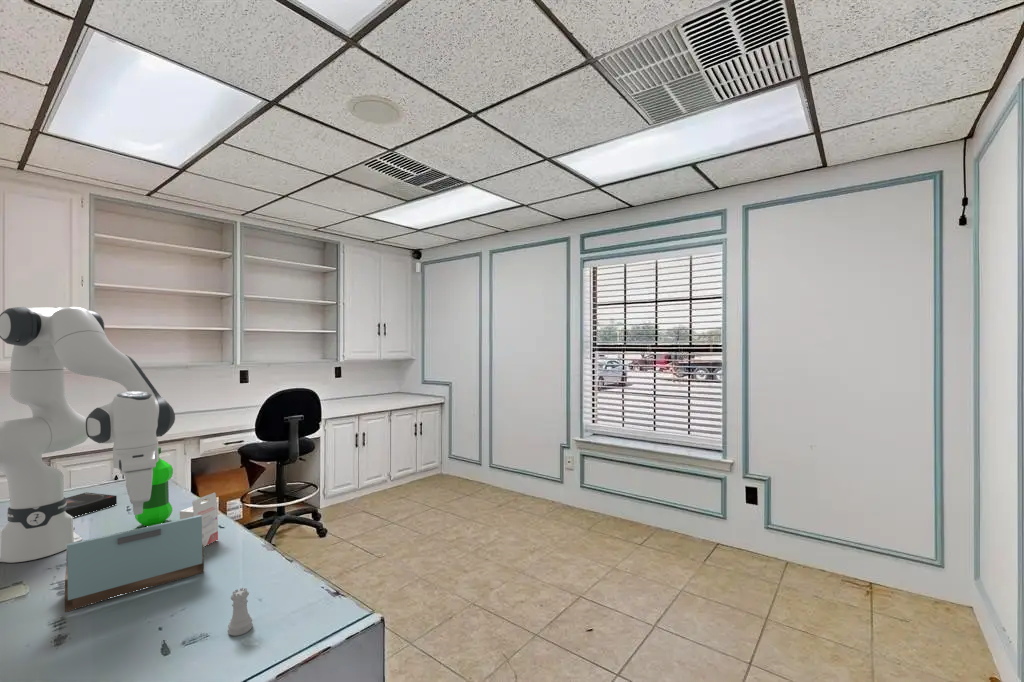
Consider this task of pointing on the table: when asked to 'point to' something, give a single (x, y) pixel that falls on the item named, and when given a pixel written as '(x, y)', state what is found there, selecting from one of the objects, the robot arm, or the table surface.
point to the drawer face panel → (133, 556)
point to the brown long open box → (130, 585)
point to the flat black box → (88, 503)
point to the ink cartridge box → (205, 517)
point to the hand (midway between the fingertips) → (137, 513)
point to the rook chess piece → (240, 614)
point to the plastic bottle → (157, 496)
